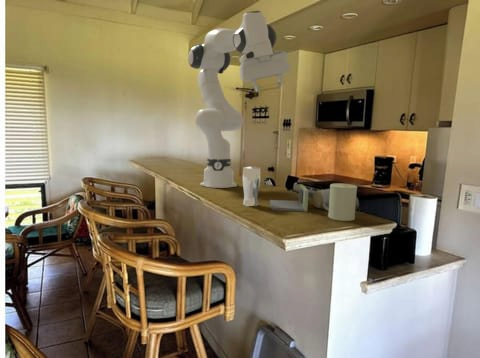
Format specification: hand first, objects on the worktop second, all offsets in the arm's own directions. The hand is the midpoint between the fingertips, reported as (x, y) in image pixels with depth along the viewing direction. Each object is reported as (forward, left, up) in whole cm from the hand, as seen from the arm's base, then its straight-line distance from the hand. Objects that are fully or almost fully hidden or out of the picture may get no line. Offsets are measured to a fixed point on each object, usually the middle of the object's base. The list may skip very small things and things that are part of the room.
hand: (269, 88), depth 139 cm
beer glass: (+7, -6, -46) cm, 47 cm away
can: (+22, +26, -46) cm, 57 cm away
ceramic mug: (+9, +24, -46) cm, 53 cm away
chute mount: (+8, +8, -46) cm, 47 cm away
